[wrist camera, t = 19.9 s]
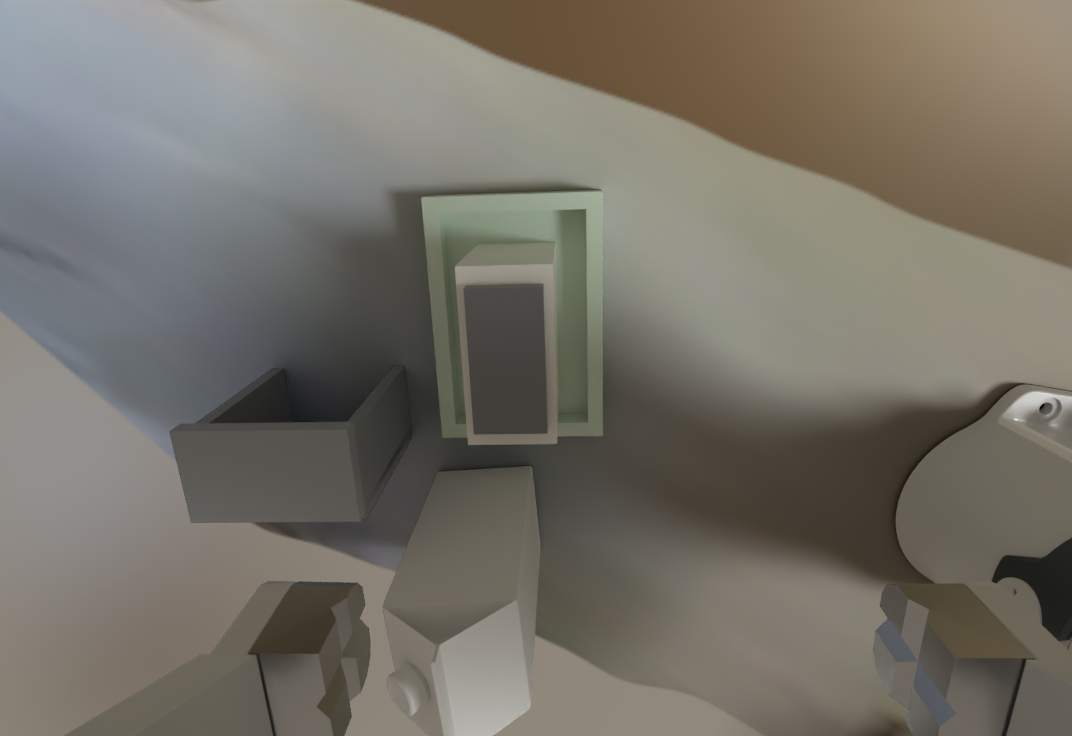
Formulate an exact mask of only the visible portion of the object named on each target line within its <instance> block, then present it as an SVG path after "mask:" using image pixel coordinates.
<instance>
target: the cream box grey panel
mask: <svg viewBox="0 0 1072 736" xmlns="http://www.w3.org/2000/svg"><path fill="white" fill-rule="evenodd" d="M455 276H456V290H457V303H458V317H459V330H460V344H461V357H462V371H463V384H464V398H465V411H466V424H467V438H468V445H517V444H557V438H558V402H559V372H558V329H557V287H556V244H555V242H533V243H498V244H478V245H477V246H476V247H475V248H473V249H472V250H471V251H470V252H469V253H468V254H467V255H466V256H465V257H464V258H463V259H462V260H461V261H460V262H459V263H458V264H457V265H456V266H455Z"/></svg>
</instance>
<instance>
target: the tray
mask: <svg viewBox="0 0 1072 736" xmlns="http://www.w3.org/2000/svg"><path fill="white" fill-rule="evenodd" d="M421 202H422V213H423V225H424V236H425V247H426V259H427V270H428V281H429V293H430V304H431V315H432V327H433V338H434V350H435V361H436V372H437V384H438V395H439V406H440V418H441V429H442V438H467V424H466V411H465V398H464V384H463V371H462V357H461V344H460V330H459V317H458V303H457V290H456V276H455V266H456V265H457V264H458V263H459V262H460V261H461V260H462V259H463V258H464V257H465V256H466V255H467V254H468V253H469V252H470V251H471V250H472V249H473V248H475V247H476V246H477V245H478V244H498V243H533V242H555V244H556V287H557V329H558V372H559V402H558V437H566V436H603V191H602V190H575V191H545V192H514V193H483V194H453V195H428V196H424V197H421Z"/></svg>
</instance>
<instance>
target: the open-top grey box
mask: <svg viewBox="0 0 1072 736" xmlns="http://www.w3.org/2000/svg"><path fill="white" fill-rule="evenodd" d="M170 436H171V440H172V444H173V448H174V452H175V457H176V461H177V465H178V469H179V474H180V478H181V482H182V486H183V491H184V495H185V499H186V503H187V507H188V511H189V516H190V520H191V522H192V523H212V522H213V523H215V522H216V523H219V522H222V523H223V522H224V523H226V522H228V523H229V522H360V521H361V520H367V518H368V516H369V515H370V513H371V511H372V509H373V507H374V505H375V504H376V502H377V500H378V498H379V496H380V495H381V493H382V491H383V489H384V487H385V486H386V484H387V482H388V480H389V478H390V477H391V475H392V473H393V471H394V469H395V467H396V466H397V464H398V462H399V460H400V458H401V457H402V455H403V453H404V451H405V449H406V448H407V446H408V444H409V442H410V440H411V438H412V434H411V424H410V414H409V405H408V395H407V386H406V376H405V367H404V366H393V367H392V368H391V370H390V371H389V372H388V373H387V374H386V376H385V377H384V378H383V379H382V380H381V382H380V383H379V384H378V385H377V386H376V388H375V389H374V390H373V391H372V392H371V394H370V395H369V396H368V397H367V398H366V400H365V401H364V402H363V403H362V404H361V406H360V407H359V408H358V409H357V410H356V412H355V413H354V414H353V415H352V416H351V418H350V419H349V420H348V421H347V422H292V417H291V411H290V405H289V399H288V393H287V387H286V381H285V375H284V369H283V368H274V369H271V370H270V371H268V372H267V373H265V374H264V375H263V376H261V377H260V378H258V379H257V380H256V381H254V382H253V383H251V384H250V385H249V386H247V387H246V388H244V389H243V390H241V391H240V392H239V393H237V394H236V395H234V396H233V397H232V398H230V399H229V400H227V401H226V402H225V403H223V404H222V405H220V406H219V407H218V408H216V409H215V410H213V411H212V412H211V413H209V414H208V415H206V416H205V417H204V418H202V419H201V420H199V421H198V422H197V423H195V424H180V425H178V426H177V427H175V428H174V429H173V430H171V431H170Z"/></svg>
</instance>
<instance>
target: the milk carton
mask: <svg viewBox="0 0 1072 736" xmlns="http://www.w3.org/2000/svg"><path fill="white" fill-rule="evenodd" d="M540 548H541V545H540V534H539V525H538V515H537V506H536V497H535V488H534V478H533V470H532V467H531V466H520V467H505V468H489V469H474V470H459V471H444V472H437V474H436V476H435V479H434V481H433V484H432V486H431V489H430V491H429V493H428V496H427V498H426V501H425V503H424V506H423V508H422V511H421V513H420V515H419V518H418V520H417V523H416V525H415V528H414V530H413V532H412V535H411V537H410V540H409V542H408V545H407V547H406V549H405V552H404V554H403V557H402V559H401V562H400V564H399V567H398V569H397V571H396V574H395V576H394V579H393V581H392V584H391V586H390V588H389V591H388V593H387V596H386V599H385V602H384V604H383V614H384V619H385V625H386V630H387V634H388V639H389V644H390V648H391V654H392V658H393V663H394V668H395V671H394V672H393V673H392V674H390V675H389V676H388V678H387V686H388V690H389V693H390V695H391V698H392V700H393V701H394V703H395V704H396V705H397V707H398V708H399V709H400V710H401V711H402V712H403V713H404V714H405V715H406V716H408V717H409V718H410V719H411V720H412V721H413V722H414V723H415V724H416V725H417V726H419V727H420V728H421V729H422V730H423V731H424V732H425V733H426V734H427V735H429V736H493V735H494V734H496V733H497V732H499V731H500V730H501V729H503V728H504V727H505V726H507V725H508V724H510V723H511V722H512V721H514V720H515V719H517V718H518V717H519V716H520V715H522V714H523V713H525V712H526V711H527V710H529V709H530V703H531V689H532V673H533V657H534V642H535V626H536V611H537V595H538V580H539V564H540Z"/></svg>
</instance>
